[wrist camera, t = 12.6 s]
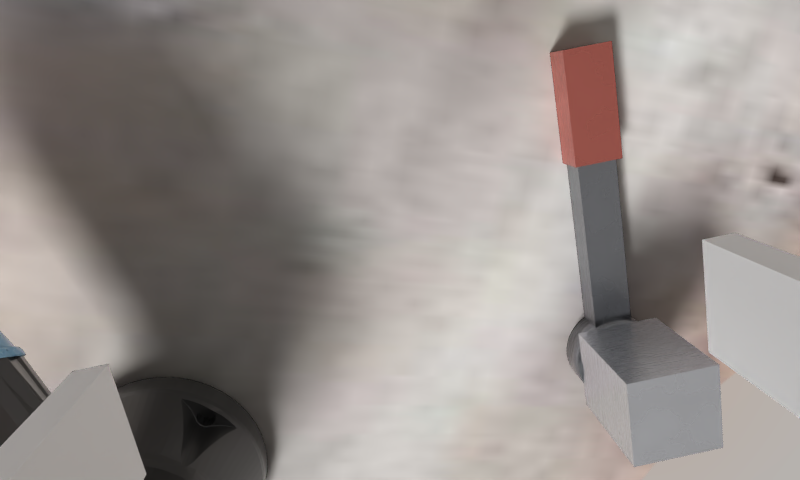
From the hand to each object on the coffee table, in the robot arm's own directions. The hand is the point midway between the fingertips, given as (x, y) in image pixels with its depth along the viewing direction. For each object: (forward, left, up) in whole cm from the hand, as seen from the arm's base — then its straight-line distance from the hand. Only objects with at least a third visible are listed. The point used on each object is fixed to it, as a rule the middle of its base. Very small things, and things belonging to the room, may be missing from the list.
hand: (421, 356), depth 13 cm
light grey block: (+16, -18, -29) cm, 37 cm away
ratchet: (+16, -8, -32) cm, 36 cm away
